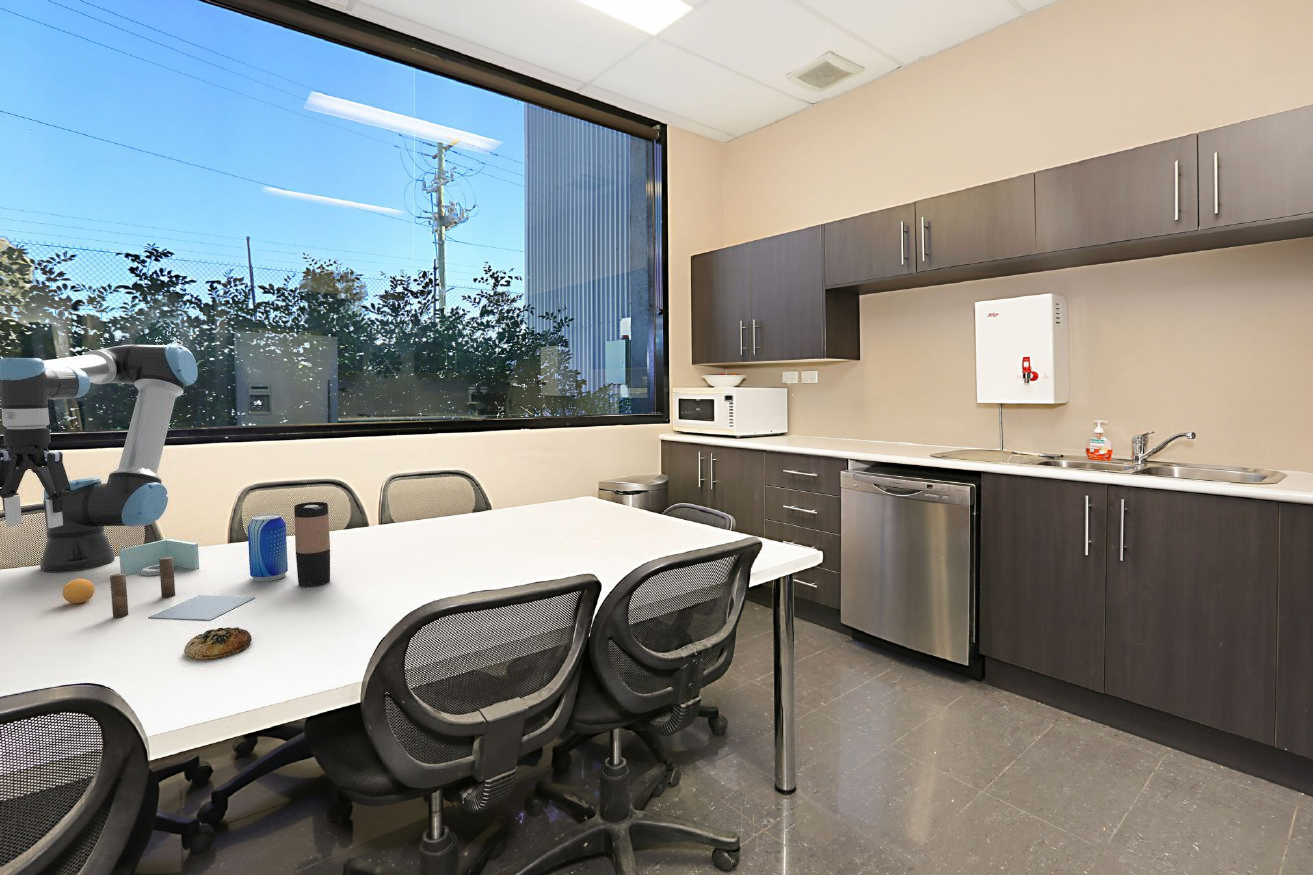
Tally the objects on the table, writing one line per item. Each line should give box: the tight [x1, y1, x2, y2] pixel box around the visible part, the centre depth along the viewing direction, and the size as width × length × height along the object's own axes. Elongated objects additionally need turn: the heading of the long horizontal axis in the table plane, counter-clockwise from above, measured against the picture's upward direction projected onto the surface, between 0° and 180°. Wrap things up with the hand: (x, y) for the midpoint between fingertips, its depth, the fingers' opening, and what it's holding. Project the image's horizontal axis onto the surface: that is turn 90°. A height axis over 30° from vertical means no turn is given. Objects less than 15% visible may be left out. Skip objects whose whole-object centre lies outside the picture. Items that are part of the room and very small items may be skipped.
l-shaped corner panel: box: [118, 538, 200, 577], centre depth 171 cm, size 12×12×8 cm
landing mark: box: [147, 594, 256, 622], centre depth 146 cm, size 14×14×1 cm
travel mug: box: [293, 501, 331, 588], centre depth 163 cm, size 8×8×20 cm
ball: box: [61, 578, 96, 604], centre depth 148 cm, size 6×6×6 cm
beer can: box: [247, 513, 289, 582], centre depth 167 cm, size 8×8×16 cm
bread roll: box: [183, 626, 253, 661], centre depth 124 cm, size 11×11×5 cm
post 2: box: [159, 557, 176, 599], centre depth 153 cm, size 3×3×9 cm
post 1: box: [109, 572, 129, 619], centre depth 140 cm, size 3×3×9 cm
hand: (34, 525), depth 147 cm, fingers open, 9 cm apart
